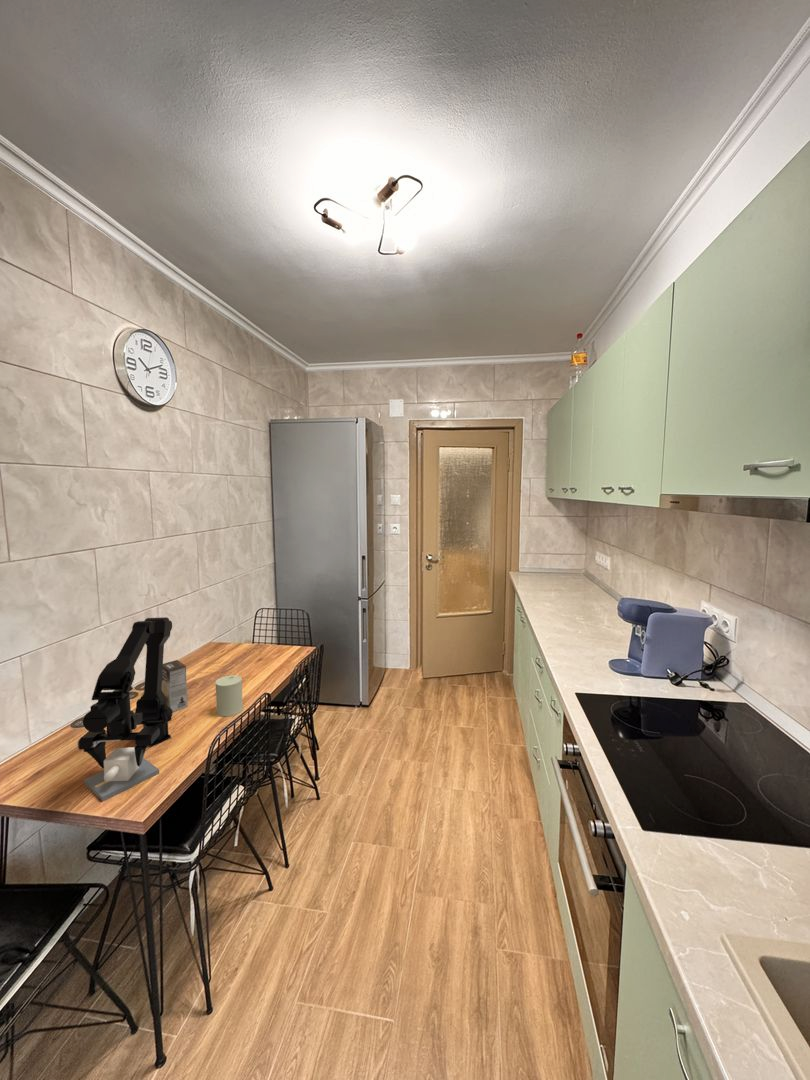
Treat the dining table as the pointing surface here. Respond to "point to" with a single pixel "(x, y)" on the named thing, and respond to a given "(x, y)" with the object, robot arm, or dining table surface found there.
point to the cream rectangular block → (120, 765)
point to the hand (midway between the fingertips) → (121, 766)
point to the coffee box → (175, 685)
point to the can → (229, 695)
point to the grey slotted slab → (115, 787)
